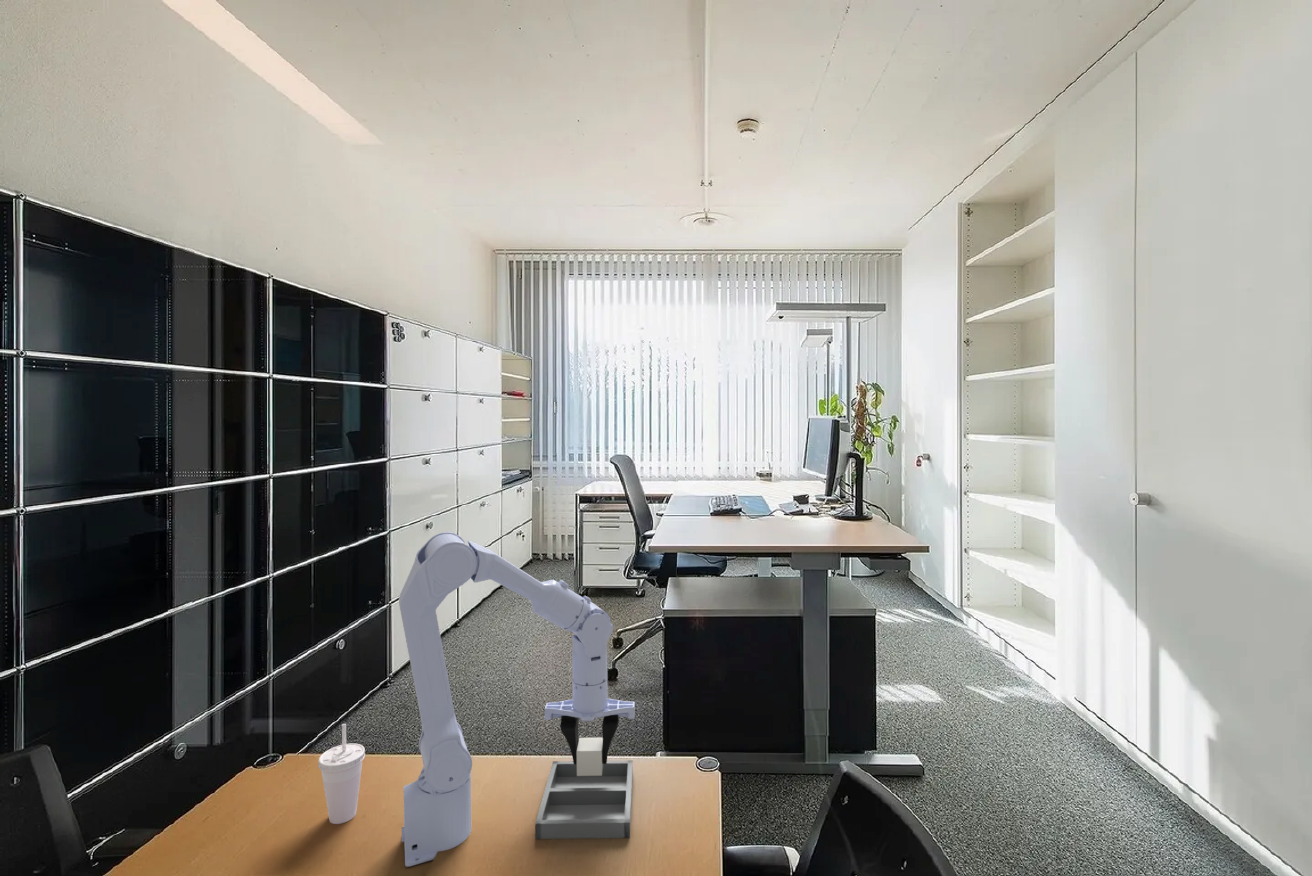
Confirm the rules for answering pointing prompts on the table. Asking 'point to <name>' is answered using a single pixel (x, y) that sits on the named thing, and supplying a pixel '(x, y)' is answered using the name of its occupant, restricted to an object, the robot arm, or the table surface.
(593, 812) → the divided tray
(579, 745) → the white block
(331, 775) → the smoothie
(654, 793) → the table surface
